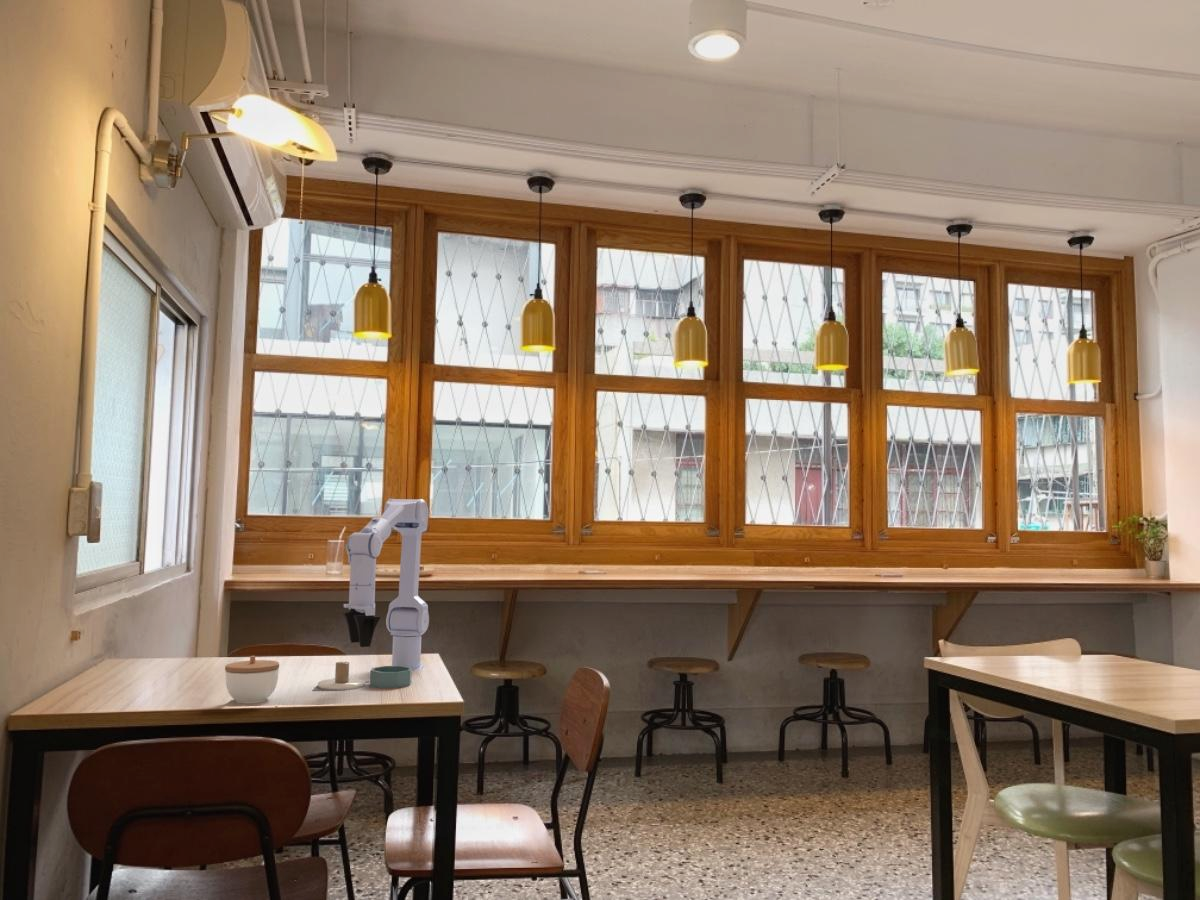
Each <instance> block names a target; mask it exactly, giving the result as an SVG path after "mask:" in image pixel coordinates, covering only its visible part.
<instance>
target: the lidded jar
mask: <svg viewBox="0 0 1200 900" xmlns="http://www.w3.org/2000/svg"><path fill="white" fill-rule="evenodd" d="M224 667H225V668H224V669H225V670H224V671H225V686H226V689H227V692H228V694H229V696H230V697H231V698H232V699H233V700H235V702H236V703H237V704H256V703H262V702H265V701H267V700H268V698H270V697H271V695H273V693H275V690H276V688H277V685H278V680H279V673H280V672H279V671H280V670H279V668H280V662H278V661H276V660H270V659H269V660H266V659H265V660H264V659H261V660H260V659H257V660H256V656H255V655H251V656H249V660H242V661H235V662H234V661H233V662H231V663H227V664H226V665H225V666H224Z"/></svg>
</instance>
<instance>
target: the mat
mask: <svg viewBox="0 0 1200 900" xmlns="http://www.w3.org/2000/svg"><path fill="white" fill-rule="evenodd" d="M364 681H365V684H367V683H370V680H369V681H366V680H364ZM311 691H312V692H327V691H329V692H333V691H341V690H325V689H320V688H318V684H317V685H316V686H315V687H314V688H313V689H312V690H311Z"/></svg>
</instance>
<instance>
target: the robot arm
mask: <svg viewBox="0 0 1200 900" xmlns="http://www.w3.org/2000/svg"><path fill="white" fill-rule="evenodd" d="M428 523H429V508H428V504H427V502H426V501H425V499H423V498H420V499H413V498H412V499H410V498H409V499H403V498H401V499H400V498H399V499H398V498H396V499H395V498H389V499H387V501H386V502H385V503H384V508H383V513H382V514H381V516H380V517H372V518H371V519H370V521H369V522H368V523H367V524H366V525H365V526H364V527H363V528H362V529H361V530H360V531H359V532H353V533H352V534H350V535H349V536H348V538H347V540H346V545H345V548H346V555H347V562H348V564H349V567H350V568H349V569H350V570H349V593H348V594H349V595H348V603H343V608H345V609H348V610H349V611H343V612H342V615H343V616H344V619H345V622H346V624H347V629H348V633H349V634H348V635H349V640H350V643H358V644H359V647H360V648H367V647H369V648H370V647H371V644H372V642H373V641H372V640H373V636H374V633H375V630H376V627H377V625H378V623H379V621H380V620H381V616H380V615H376V602H375V601H376V600H375V599H376V598H375V597H376V574H377V573H376V572H377V571H376V570H377V565H376V564H377V557H379V556H380V554H381V550H382V547H383V545H384V544H383V543H384V542H386V540H387V539H388V538H389V537H390V536H391V534H392V529H394V530H395V531H396V532H399V533H400V535H401V550H400V551H401V552H400V553H401V554H400V565H399V567H400V569H399V570H400V571H399V582H398V583H399V585H398V596H397V597H396V598H395V599H393V600H392V601H390V603H389V605H388V612H387V614H386V618H385V619H386V620H385V624H386V629H387V630H388V632H390V636H392V655H391V656H392V658H391V666H405V667H410V668H412V671H422V669H423V667H424V663H421V662H422V661H421V659H422V658H421V656H422V655H421V654H422V635H425V633H426V632H427V630H428V628H429V624H430V614H429V605H428V604H427V603H426V601H425V600H424V599H422V598H421V597H420V596H419V582H420V567H421V549H422V548H421V547H422V533H424V532H426V531H427V530H428Z"/></svg>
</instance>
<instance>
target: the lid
mask: <svg viewBox="0 0 1200 900" xmlns="http://www.w3.org/2000/svg"><path fill="white" fill-rule="evenodd" d="M334 670H335V671H334V676H335V677H334V678H331V679H329V678H327V679H324V680H320V681H318V682H317V685H318V688H320V689H325V690H340V691H349V690H356V689H361V688H363V687H365V686H366V683H365V681H366V680H364V679H360V678H352V677H351V678H350V662H348V661H338V662H335V669H334Z"/></svg>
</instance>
